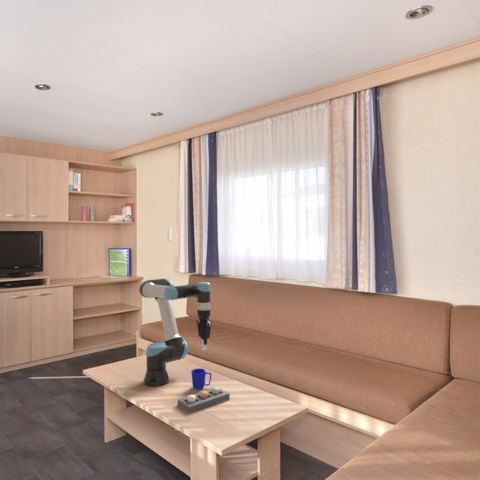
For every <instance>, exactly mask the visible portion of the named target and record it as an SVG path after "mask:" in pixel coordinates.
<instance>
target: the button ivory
mask: <svg viewBox="0 0 480 480" xmlns="http://www.w3.org/2000/svg"><path fill="white" fill-rule="evenodd" d="M186 397H187V403H189V404H191V403H194V402H196V396H195V395H193V394H188V395H187V396H186Z"/></svg>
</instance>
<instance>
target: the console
mask: <svg viewBox="0 0 480 480" xmlns="http://www.w3.org/2000/svg"><path fill="white" fill-rule="evenodd" d="M205 391H208V398H206V399H203V400H202V399H200V392H201V391H200V392H197V393H193V394H192V395H195V396H196V402H194V403H191V404H189V403H187V396H184V397H180V398H177V406H179V407H180V409H181V408H182V409H183V410H184V411H186V412H187V413H194V412H196V411H199V410H202V409H205V408H207V407H211V406H213V405H216V404H218V403H221V402H224V401H227V400H228V401H229V400H231V399H230V393H229V392H228V391H226V390H223V389H222V388H220V394H218V395H213V394H212V388H209V389H207V390H205Z"/></svg>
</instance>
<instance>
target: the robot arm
mask: <svg viewBox="0 0 480 480" xmlns="http://www.w3.org/2000/svg"><path fill="white" fill-rule="evenodd" d="M138 292H139V294H140V296H141V297H143V298H147V299H152V298H154V300H155V302H157V304H158V309H159V313H160V317H161V322H162V326H163V332H164V336H165V337H164V338H165V339H164V340H163V341H157V342H153V343H151V344H150V343H149V345H148V346H147V347H146V352H145V353H146V355H145V356H146V371H145V374H144V378H143V384H144V386H147V387H160V386H163V385H166V384H168V383H169V381H170V377H169V373H168V371H167V364H168V363H172V362H175V361H180V360H182V359H185V358H186V356H187V355H188V351H189V346H188V342H187V341H186V339H183V337H182V336H181V335H180V334H179V330H178V325H177V320H176V317H175V312H174V307H173V304H172V303H173V302H172V301H175V300H180V299H181V300H182V299H189V298H196V299H197V300H196V301H197V302H196V303H197V305H196V306H197V313H196V315H197V317H198V319H196V320H195V322H196V326H197V333H198V338H199V337H200V341H201V342H200V343H201V351H203V352H204V351H206V350H208V339H210V338H211V337H210V336H211V330H212V325H213V322H210V317H211V284H210V282H208V281H206V282H205V281H200V282H197V284H196V283H188V284H185V285H184V284H183V285H174V283H173V281H172V280H171V279H169V278H158V279H148V280H145V281H143V282H142V283H140V285H139V288H138Z"/></svg>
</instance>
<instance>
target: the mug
mask: <svg viewBox="0 0 480 480" xmlns="http://www.w3.org/2000/svg"><path fill="white" fill-rule="evenodd" d="M190 373H191V382H192V384H191V385H192V387H193V389H196V390H201V389H203V388H205V386H210V384H211V381H212V372H209V371H206V369H205V368H194V369H191V372H190ZM206 375H209V381H208V383H206Z"/></svg>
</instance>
